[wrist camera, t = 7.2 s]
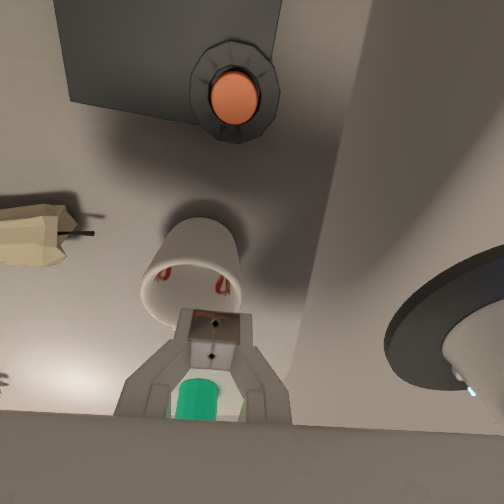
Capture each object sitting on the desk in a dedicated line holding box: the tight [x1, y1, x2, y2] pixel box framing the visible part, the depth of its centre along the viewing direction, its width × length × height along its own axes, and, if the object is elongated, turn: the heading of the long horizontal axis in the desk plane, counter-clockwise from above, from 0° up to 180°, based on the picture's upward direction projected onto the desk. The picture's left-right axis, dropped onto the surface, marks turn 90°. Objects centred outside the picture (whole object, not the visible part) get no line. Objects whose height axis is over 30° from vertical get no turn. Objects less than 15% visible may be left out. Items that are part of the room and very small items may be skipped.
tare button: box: [211, 71, 257, 125], centre depth 18 cm, size 3×3×2 cm
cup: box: [139, 217, 243, 331], centre depth 26 cm, size 11×8×8 cm
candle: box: [175, 379, 218, 421], centre depth 40 cm, size 6×6×12 cm
